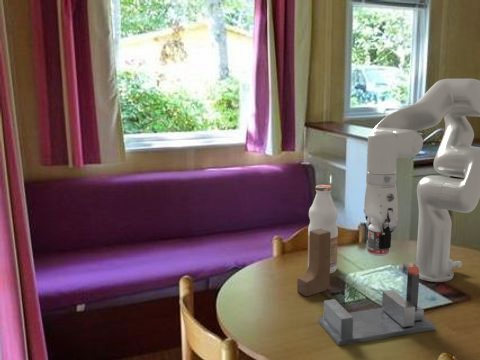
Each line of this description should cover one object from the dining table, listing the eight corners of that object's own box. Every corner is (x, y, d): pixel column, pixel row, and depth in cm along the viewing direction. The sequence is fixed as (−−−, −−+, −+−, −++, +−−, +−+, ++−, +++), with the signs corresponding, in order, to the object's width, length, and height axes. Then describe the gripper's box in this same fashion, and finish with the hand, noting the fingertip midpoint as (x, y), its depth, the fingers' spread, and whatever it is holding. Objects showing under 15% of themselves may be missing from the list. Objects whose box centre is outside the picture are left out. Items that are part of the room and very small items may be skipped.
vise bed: (407, 307, 132) (408, 286, 131) (435, 329, 121) (436, 306, 120) (318, 321, 126) (318, 299, 125) (338, 345, 115) (339, 321, 113)
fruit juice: (307, 274, 156) (307, 189, 150) (308, 263, 165) (309, 182, 159) (337, 275, 154) (338, 189, 148) (336, 264, 163) (338, 183, 157)
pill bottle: (377, 258, 128) (378, 221, 126) (362, 251, 133) (363, 216, 131) (393, 254, 131) (395, 218, 129) (378, 247, 136) (380, 213, 134)
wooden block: (306, 297, 140) (307, 237, 136) (296, 291, 144) (296, 233, 140) (330, 289, 145) (331, 231, 141) (319, 284, 148) (320, 227, 144)
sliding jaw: (405, 305, 131) (407, 257, 128) (428, 322, 121) (431, 272, 118) (381, 308, 129) (383, 260, 126) (403, 327, 120) (406, 275, 117)
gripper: (412, 184, 120) (408, 253, 124) (377, 171, 137) (374, 233, 141) (385, 187, 119) (382, 256, 123) (352, 173, 135) (350, 235, 139)
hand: (378, 243), depth 132 cm, fingers closed on pill bottle, 5 cm apart
